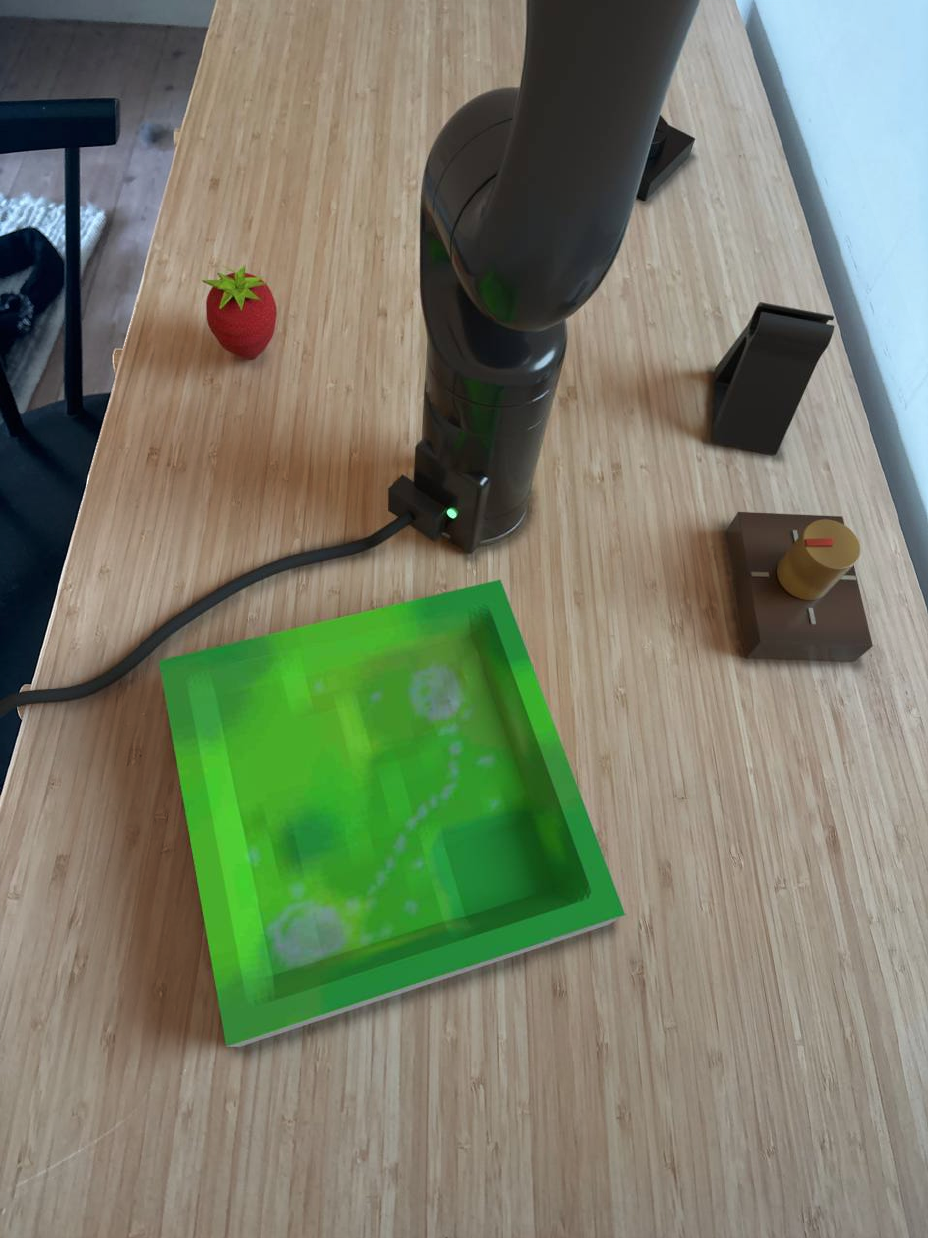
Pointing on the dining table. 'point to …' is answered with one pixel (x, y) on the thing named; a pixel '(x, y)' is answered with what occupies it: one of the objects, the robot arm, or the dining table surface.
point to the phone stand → (766, 376)
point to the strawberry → (241, 313)
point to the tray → (377, 808)
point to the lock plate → (790, 596)
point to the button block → (664, 157)
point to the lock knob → (818, 559)
